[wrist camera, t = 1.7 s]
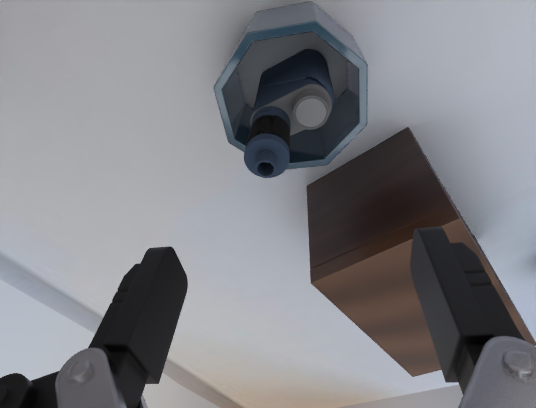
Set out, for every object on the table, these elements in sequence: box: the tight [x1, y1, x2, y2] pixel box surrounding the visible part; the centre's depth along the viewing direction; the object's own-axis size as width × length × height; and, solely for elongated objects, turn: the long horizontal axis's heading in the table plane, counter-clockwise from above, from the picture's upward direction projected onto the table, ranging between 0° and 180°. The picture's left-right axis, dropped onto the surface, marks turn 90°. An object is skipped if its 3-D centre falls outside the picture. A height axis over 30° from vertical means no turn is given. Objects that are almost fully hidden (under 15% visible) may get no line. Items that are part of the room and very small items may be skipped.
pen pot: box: [214, 2, 368, 170], centre depth 23 cm, size 9×9×6 cm
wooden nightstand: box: [307, 128, 536, 377], centre depth 29 cm, size 16×10×11 cm, turn 39°
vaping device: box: [244, 49, 334, 178], centre depth 21 cm, size 3×5×12 cm, turn 119°
